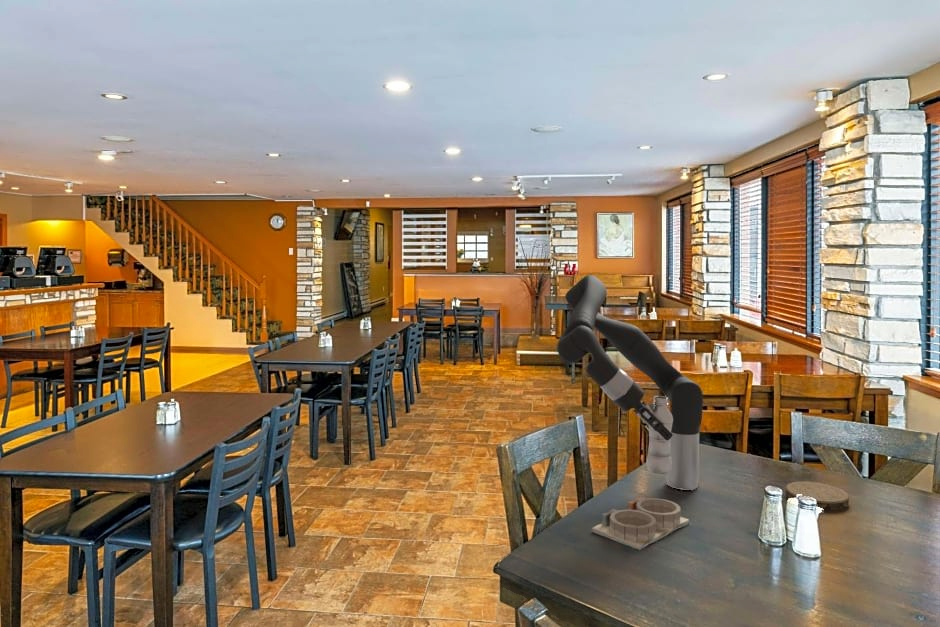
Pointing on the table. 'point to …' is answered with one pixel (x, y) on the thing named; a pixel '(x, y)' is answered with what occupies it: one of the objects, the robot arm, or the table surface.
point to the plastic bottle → (660, 439)
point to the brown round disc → (820, 494)
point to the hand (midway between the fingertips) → (666, 434)
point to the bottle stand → (642, 521)
